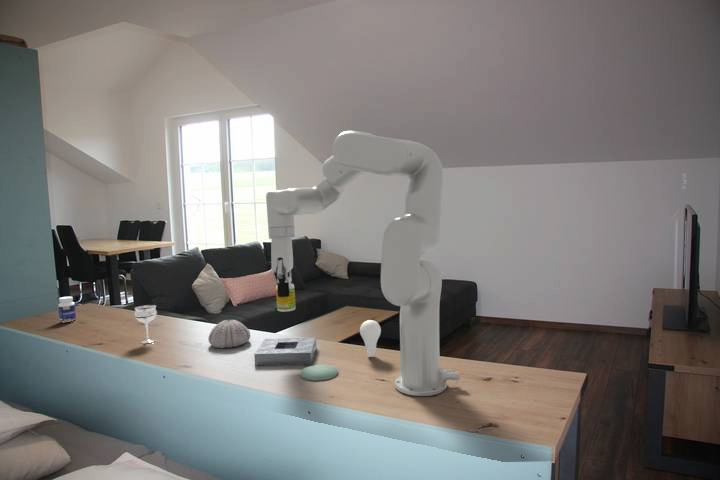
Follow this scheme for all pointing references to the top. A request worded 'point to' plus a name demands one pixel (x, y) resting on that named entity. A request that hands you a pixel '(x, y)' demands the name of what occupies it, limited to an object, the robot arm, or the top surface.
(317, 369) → the pad
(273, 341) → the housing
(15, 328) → the top surface
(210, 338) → the sea urchin shell
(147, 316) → the wineglass
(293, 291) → the supplement bottle
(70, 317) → the pill bottle
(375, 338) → the lightbulb
